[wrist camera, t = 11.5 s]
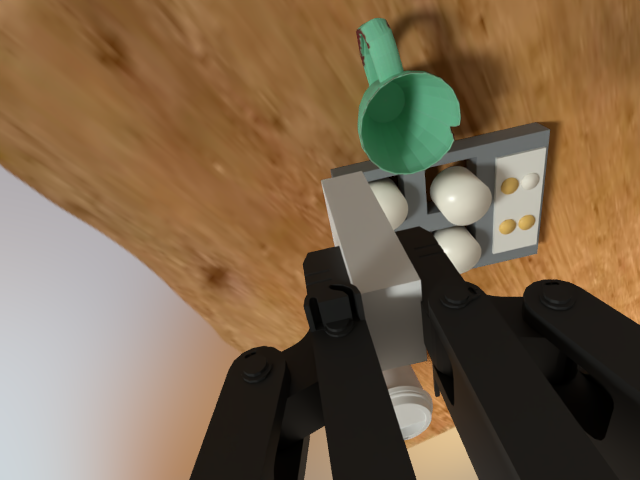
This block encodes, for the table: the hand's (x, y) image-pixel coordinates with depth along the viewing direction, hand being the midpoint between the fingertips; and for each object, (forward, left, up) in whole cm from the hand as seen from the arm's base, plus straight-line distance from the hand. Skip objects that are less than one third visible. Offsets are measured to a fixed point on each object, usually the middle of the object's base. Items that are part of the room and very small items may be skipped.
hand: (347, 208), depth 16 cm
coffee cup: (+44, +4, -35) cm, 56 cm away
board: (+22, +15, -34) cm, 44 cm away
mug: (+4, +9, -35) cm, 36 cm away
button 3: (+26, +16, -33) cm, 46 cm away
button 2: (+18, +7, -33) cm, 38 cm away
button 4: (+17, +16, -31) cm, 39 cm away
